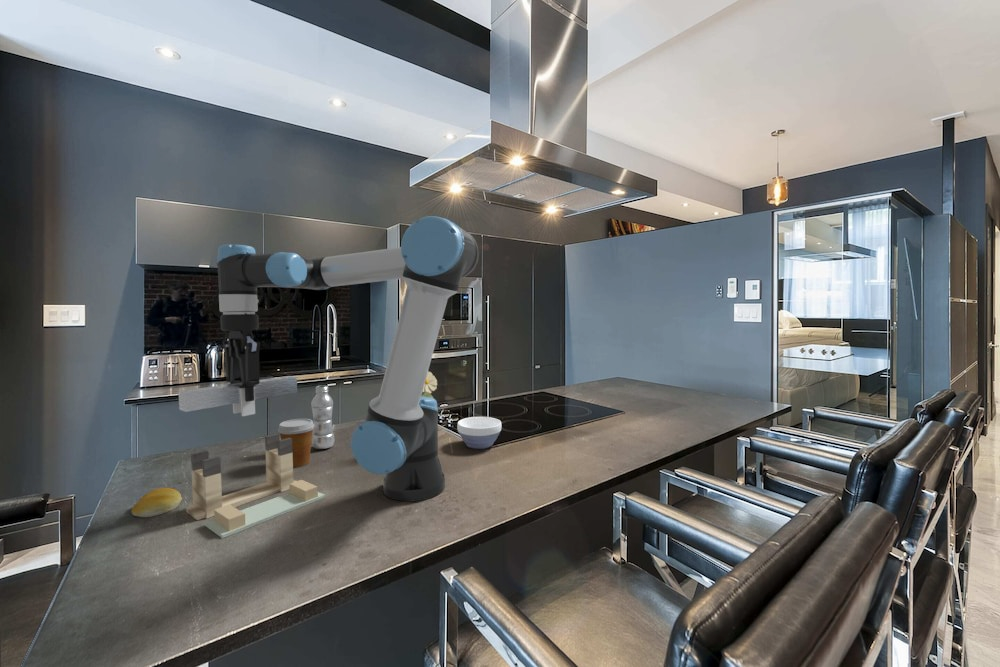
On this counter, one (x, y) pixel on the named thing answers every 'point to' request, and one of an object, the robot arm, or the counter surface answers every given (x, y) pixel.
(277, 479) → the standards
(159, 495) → the bread roll
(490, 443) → the bowl
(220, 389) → the rail
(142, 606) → the counter surface
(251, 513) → the rest pad
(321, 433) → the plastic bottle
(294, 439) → the disposable coffee cup
